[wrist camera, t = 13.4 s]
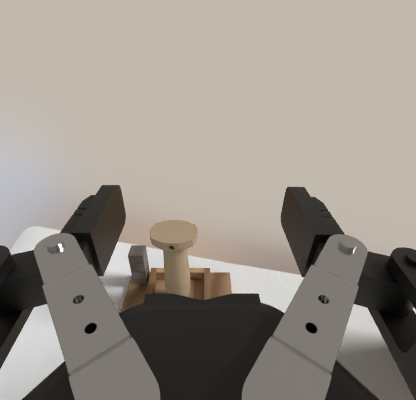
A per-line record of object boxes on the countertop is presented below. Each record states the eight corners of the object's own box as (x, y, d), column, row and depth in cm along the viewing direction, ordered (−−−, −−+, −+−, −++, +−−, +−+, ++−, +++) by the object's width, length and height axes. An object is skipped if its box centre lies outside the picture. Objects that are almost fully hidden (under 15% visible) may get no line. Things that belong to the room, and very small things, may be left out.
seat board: (229, 276, 50) (231, 244, 45) (235, 338, 40) (239, 306, 35) (133, 276, 49) (127, 244, 45) (115, 339, 39) (104, 306, 35)
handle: (197, 314, 42) (196, 243, 34) (157, 313, 42) (146, 242, 34) (199, 289, 46) (198, 220, 38) (162, 288, 46) (153, 219, 38)
